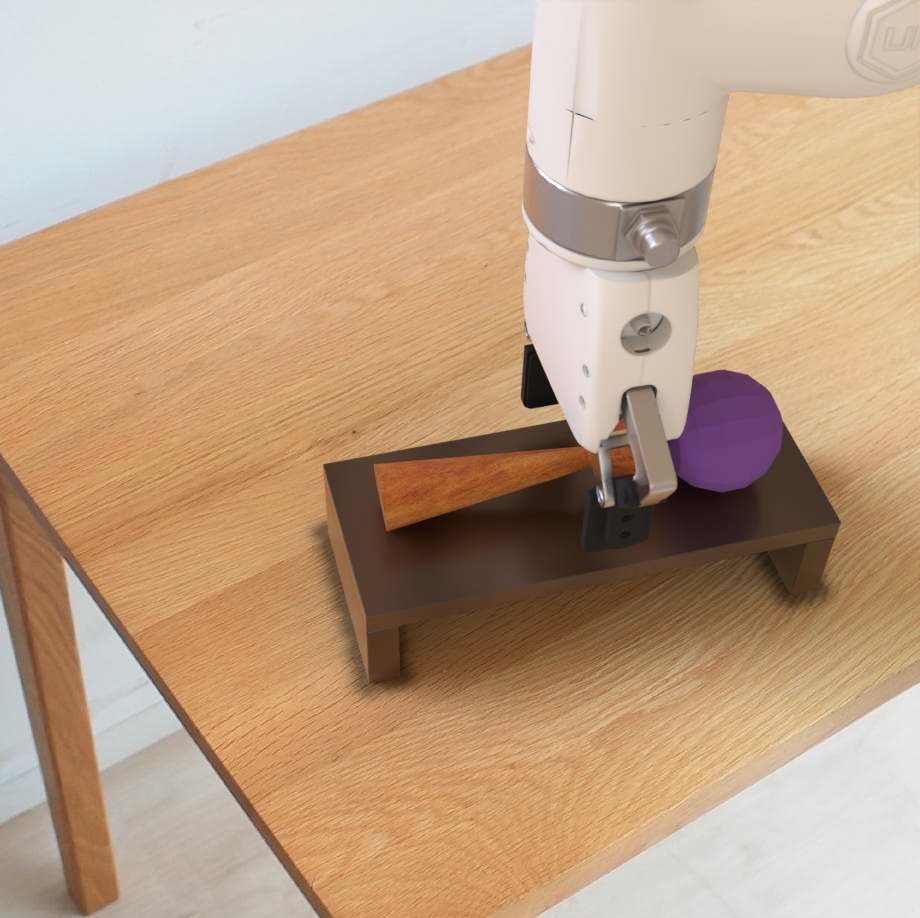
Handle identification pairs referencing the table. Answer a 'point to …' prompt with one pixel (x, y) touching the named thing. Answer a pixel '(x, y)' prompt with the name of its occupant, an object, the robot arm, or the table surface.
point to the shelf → (550, 538)
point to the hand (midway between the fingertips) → (581, 468)
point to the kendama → (693, 455)
